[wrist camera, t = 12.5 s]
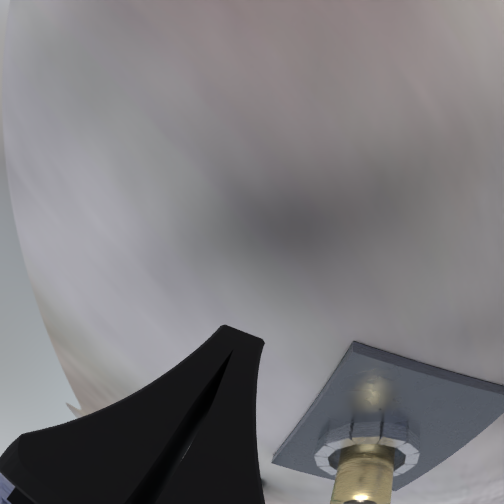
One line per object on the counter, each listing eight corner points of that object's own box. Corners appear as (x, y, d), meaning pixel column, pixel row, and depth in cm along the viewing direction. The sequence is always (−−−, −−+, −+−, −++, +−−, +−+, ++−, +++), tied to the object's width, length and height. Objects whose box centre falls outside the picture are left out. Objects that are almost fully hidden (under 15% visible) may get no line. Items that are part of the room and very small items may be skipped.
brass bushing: (392, 430, 22) (387, 493, 17) (397, 455, 24) (392, 510, 19) (335, 436, 24) (323, 496, 19) (347, 460, 26) (337, 512, 21)
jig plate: (515, 389, 18) (522, 412, 16) (396, 484, 28) (394, 501, 26) (353, 341, 20) (350, 368, 18) (273, 455, 31) (267, 473, 28)
